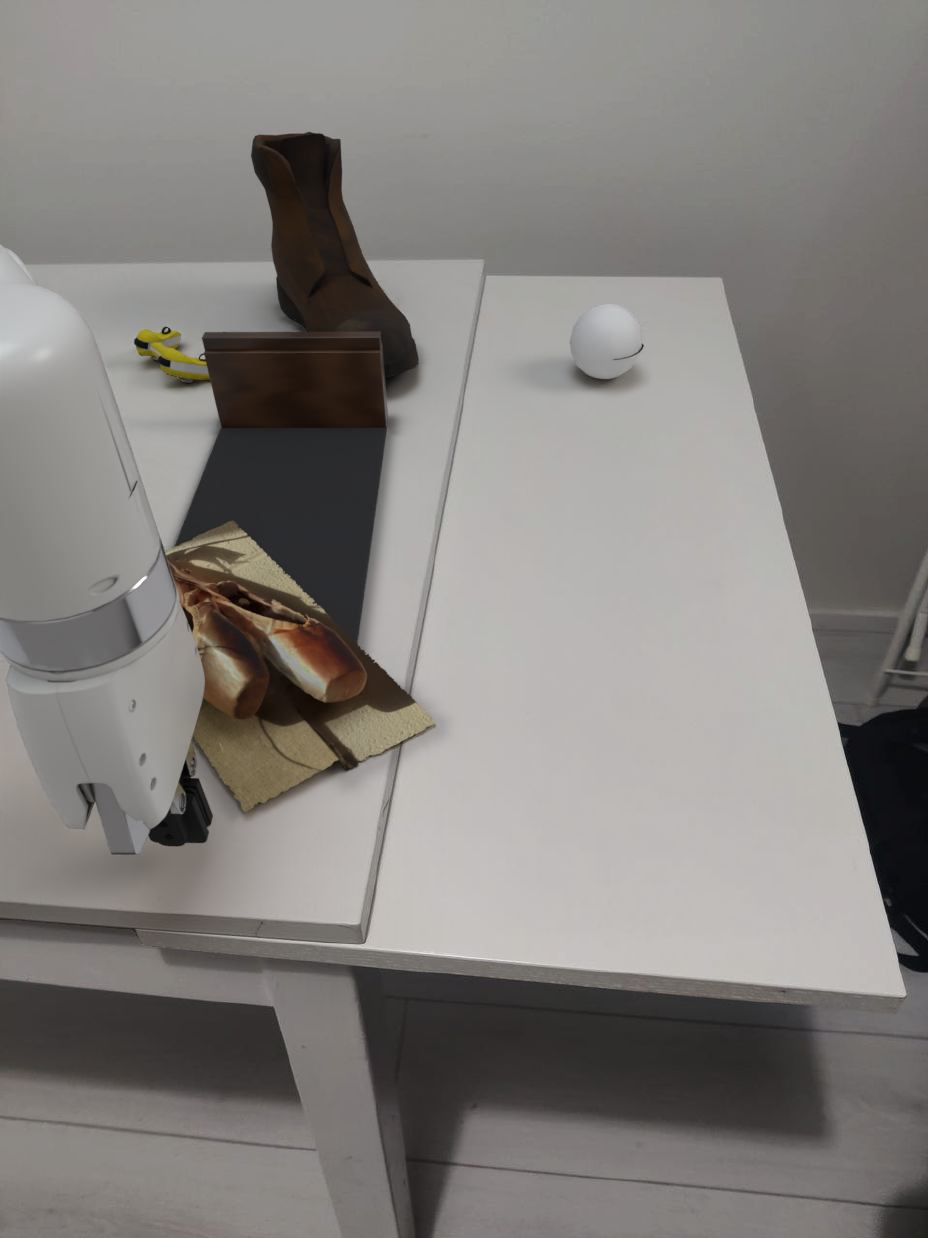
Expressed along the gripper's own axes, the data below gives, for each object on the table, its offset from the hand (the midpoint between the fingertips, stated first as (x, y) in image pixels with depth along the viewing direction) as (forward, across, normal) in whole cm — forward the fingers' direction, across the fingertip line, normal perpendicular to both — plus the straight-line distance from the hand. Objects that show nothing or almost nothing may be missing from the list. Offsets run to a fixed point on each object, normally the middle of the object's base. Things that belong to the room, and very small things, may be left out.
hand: (183, 830), depth 50 cm
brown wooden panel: (+3, -47, 0) cm, 47 cm away
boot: (+3, -65, +2) cm, 65 cm away
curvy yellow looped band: (+3, -58, -15) cm, 60 cm away
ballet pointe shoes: (+3, -16, 0) cm, 16 cm away
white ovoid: (+3, -57, +31) cm, 65 cm away
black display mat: (+3, -31, 0) cm, 31 cm away
